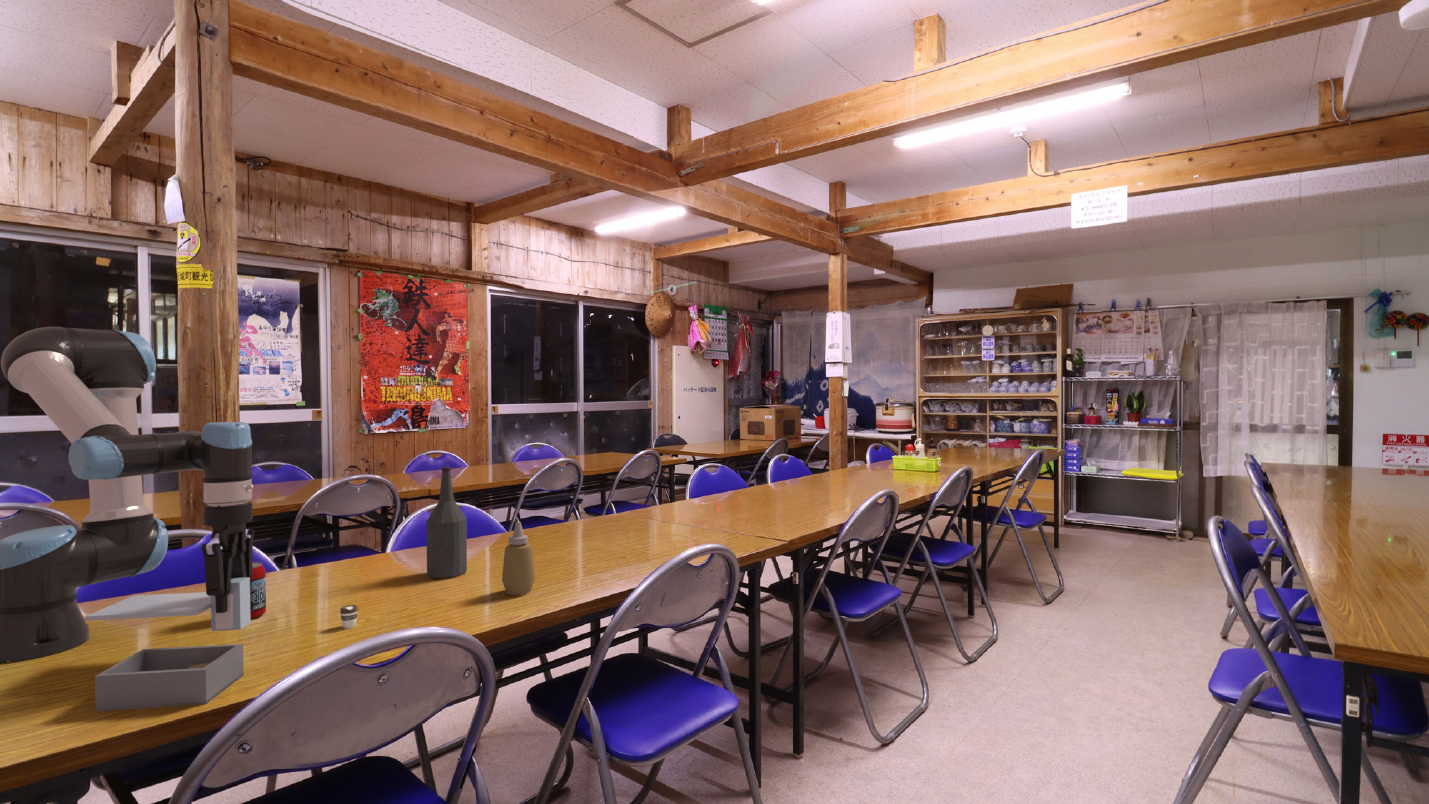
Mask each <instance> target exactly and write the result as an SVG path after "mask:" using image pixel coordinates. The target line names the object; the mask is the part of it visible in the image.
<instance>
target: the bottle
mask: <svg viewBox="0 0 1429 804" xmlns="http://www.w3.org/2000/svg"><path fill="white" fill-rule="evenodd" d="M451 470H452V467H450V466H442V467H441V479H440V481H441V482H440V491H439V499H438V502H437V504H436V505H435V507H434V509H433V510H432V512H431V513H430V515H428V519H427V520H426V574H427V576H428V577H429V576H430V577H429V578H431V579H433V578H441V579H440V580H443V579H442V578H447V579H450V578H449V577H455V578H457V577H456V576H459V577H461V576H463V575H466V572H467V570H468V551H467V549H468V541H467V540H468V538H467V537H468V535H467V534H468V533H467V532H468V530H467V528H468V527H467V517H466V515H465V514H464V513H463V511H462V509H461V508H460V507H459V505H458V503H456V501H455V498H454V491H453V489H454V488H453V480H452V472H451ZM462 574H463V575H462ZM460 575H461V576H460Z"/></svg>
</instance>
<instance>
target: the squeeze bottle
mask: <svg viewBox="0 0 1429 804" xmlns="http://www.w3.org/2000/svg"><path fill="white" fill-rule="evenodd" d="M522 526H523V525H522V523H521V521H516V522H515V524H514V530H513V533H512V535H510V536H508V545H506V546H505V548H504V556H503V565H502V573H501V575H502V577H501V581H502V584H503V587H504V590H505V593H506V595H508V594H509V595H508V596H511V595H519V596H522V595H521V594H525V595H528V594H529V592H530V591H531V592H532V588H533V585H534V582H535V579H536V574H535V563H534V556H533V547H532V545H531V543H529V536H528V535H526V534H524V530H523V527H522ZM531 592H530V593H531ZM527 593H528V594H527Z"/></svg>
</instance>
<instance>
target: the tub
mask: <svg viewBox="0 0 1429 804" xmlns="http://www.w3.org/2000/svg"><path fill="white" fill-rule="evenodd" d="M205 663H210V664H208V665H207V666H206V667H204V668H195V669H189V667H190V666H193V665H199V664H205ZM244 674H245V672H244V643H234V644H233V643H232V644H217V645H215V644H213V645H212V644H211V645H195V646H193V645H192V646H179V647H159V648H157V647H156V648H143V649H141V650H139V651H138V652H136V653H134V654H133V655H130V656H128V657H127V658H125V659H123V660H122V661H120V662H118V663H116V664H114V665H112V666H110V667H109V668H106V669H105V670H104V671H101V672H100V673H98V674H96V675H94V691H95V693H94V695H95V697H94V698H95V712H107V711H108V712H110V711H123V710H135V709H136V710H139V709H150V708H165V707H166V708H168V707H181V706H195V705H197V706H198V705H206V704H208V703H210V702H211V701H212V700H213V699H215V698H216V697H217V696H219V695H220V694H222V693H223V692H224V691H225V690H226V689H227V688H229V687H230V686H231V685H233V684H234V683H235V682H236V681H238V680H239V679H241V678H242V677H243V676H244Z"/></svg>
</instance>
